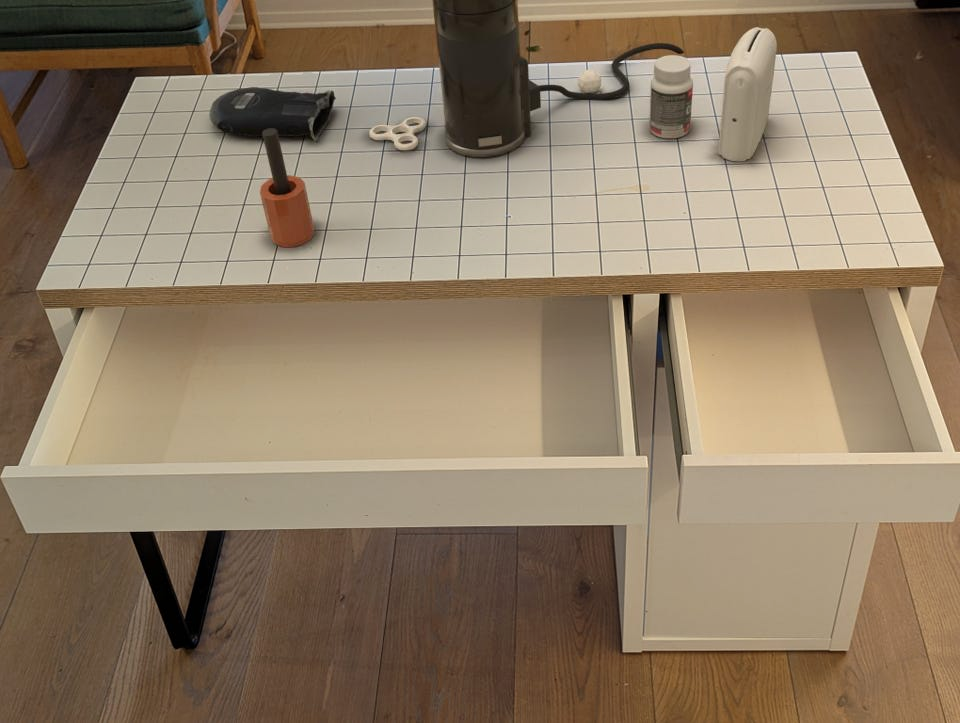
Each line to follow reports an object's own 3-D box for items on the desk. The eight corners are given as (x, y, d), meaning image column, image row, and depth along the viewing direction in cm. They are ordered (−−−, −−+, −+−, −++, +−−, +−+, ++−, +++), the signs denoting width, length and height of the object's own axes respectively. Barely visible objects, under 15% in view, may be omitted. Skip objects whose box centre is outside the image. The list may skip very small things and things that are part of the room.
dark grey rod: (295, 225, 116) (273, 126, 108) (301, 231, 115) (279, 132, 107) (282, 230, 115) (259, 131, 107) (288, 236, 114) (265, 137, 106)
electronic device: (339, 115, 137) (228, 95, 139) (337, 78, 133) (221, 59, 134) (317, 162, 131) (200, 141, 133) (313, 125, 127) (193, 104, 128)
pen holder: (303, 217, 118) (293, 170, 114) (321, 236, 115) (311, 189, 111) (264, 232, 116) (253, 185, 112) (282, 252, 113) (270, 204, 109)
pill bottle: (693, 137, 124) (698, 70, 119) (653, 141, 124) (656, 74, 119) (685, 117, 128) (689, 51, 122) (645, 121, 128) (648, 55, 122)
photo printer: (751, 165, 119) (763, 62, 111) (713, 159, 121) (722, 56, 112) (771, 120, 126) (784, 19, 118) (735, 115, 127) (745, 15, 119)
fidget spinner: (422, 119, 132) (421, 113, 131) (438, 143, 127) (437, 138, 126) (367, 132, 130) (366, 126, 130) (381, 157, 126) (380, 152, 125)
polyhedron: (601, 86, 135) (601, 64, 133) (600, 98, 133) (601, 76, 131) (578, 87, 135) (578, 65, 133) (577, 98, 133) (577, 76, 131)
